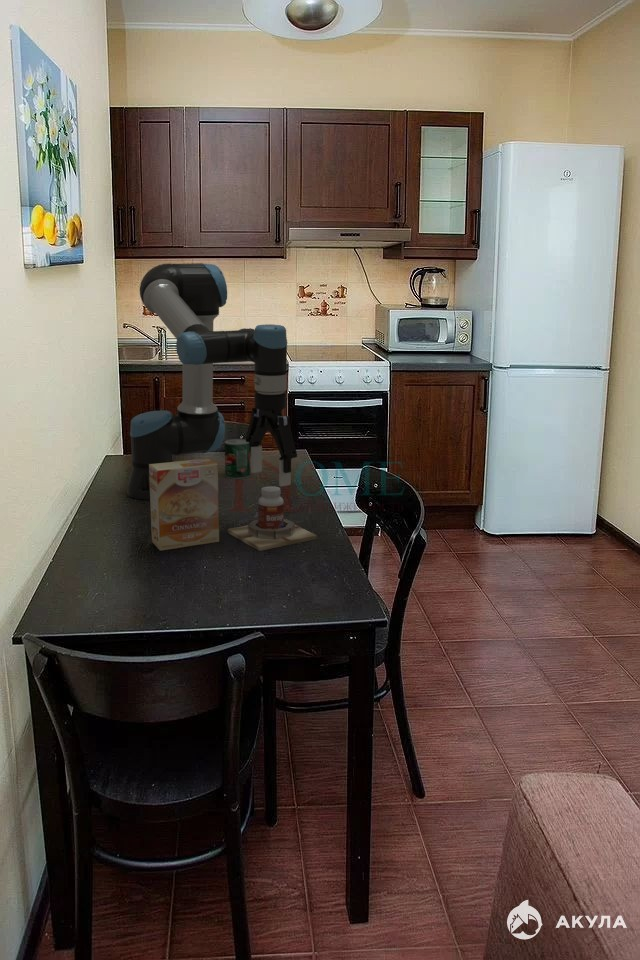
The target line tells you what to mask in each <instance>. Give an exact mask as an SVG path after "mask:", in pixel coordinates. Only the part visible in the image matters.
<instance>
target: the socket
mask: <svg viewBox="0 0 640 960" xmlns="http://www.w3.org/2000/svg"><path fill="white" fill-rule="evenodd" d="M227 534H229V535H231V536H233V538H236V539H237V540H239V541H240V542H243V543H245V544H246V545H248V546H250V547H252V548H254V549H255V550H257V551H258V552H262V551H267V550H271V549H276V548H281V547H285V546H290V545H295V544H300V543H305V542H309V541H316V540H317V537H318V536H317V534H315V533H313V532H312V531H311V532H310V531H308V530H307V529H305V528H302V527H301V526H300V525H296V523H295V522H294V521H292V520H289V519H288V518H284V528H279V529H261V528H259V527H258V519H257V518H256V519H254V520H251V521H250V523H249V524H247V525H242V526H237V527H230V528H227Z"/></svg>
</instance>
